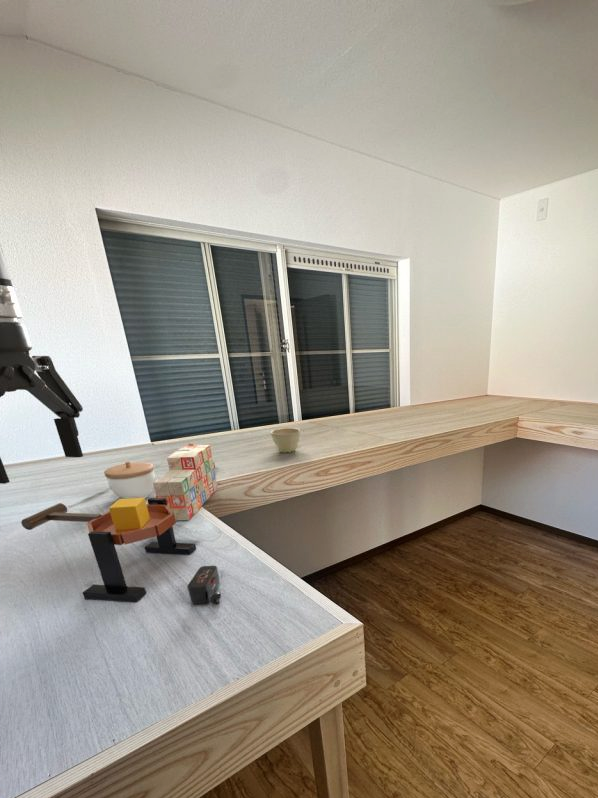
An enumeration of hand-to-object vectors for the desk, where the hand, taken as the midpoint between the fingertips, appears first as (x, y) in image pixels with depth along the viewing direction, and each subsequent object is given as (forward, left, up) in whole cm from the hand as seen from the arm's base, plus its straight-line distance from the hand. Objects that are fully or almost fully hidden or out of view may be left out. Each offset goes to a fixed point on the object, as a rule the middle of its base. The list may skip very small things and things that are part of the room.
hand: (40, 468), depth 66 cm
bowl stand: (+12, +1, -19) cm, 23 cm away
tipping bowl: (+7, +1, -11) cm, 13 cm away
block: (+12, +1, -10) cm, 16 cm away
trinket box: (-14, +35, -19) cm, 43 cm away
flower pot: (+10, +83, -19) cm, 86 cm away
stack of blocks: (+3, +32, -19) cm, 38 cm away
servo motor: (+27, -5, -19) cm, 34 cm away
